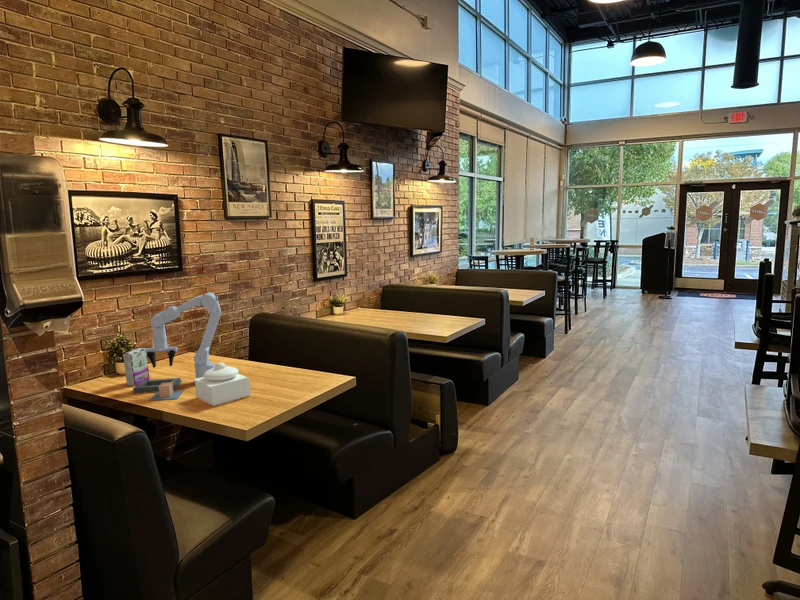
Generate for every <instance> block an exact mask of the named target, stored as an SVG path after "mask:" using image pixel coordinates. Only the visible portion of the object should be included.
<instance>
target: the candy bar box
mask: <svg viewBox="0 0 800 600" xmlns="http://www.w3.org/2000/svg"><path fill="white" fill-rule="evenodd" d="M146 348H147V347H146ZM146 348H145V347H144V348H143V347H138V348H135V349H133V350H130V351H127V352H125V353H123V354H122V358H123V364H124V372H125V380H126V386H128V387H135V386H136V385H138V384H139V383H140V382H141V381H143V380H151V379H150V373H149V372H150V369H149V364H148V363H149V362H148V357H147V353H145V349H146Z"/></svg>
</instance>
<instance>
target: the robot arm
mask: <svg viewBox="0 0 800 600" xmlns="http://www.w3.org/2000/svg"><path fill="white" fill-rule="evenodd" d="M201 306H203V307H204V308H205V309H206V310H207V311H208V313H209V314H210V316H209V318H208V321H207V325H206V328H205V331H204V332H203V336H202V339H201V342H200V346H199V348H198V350H197V351H196V352H195V354H194V356H193V362H194V370H195V371H194V372H195V379H196V378H201V377H204V376H203V375H204V373H205V372H206V371H208V370H210V369H212V368H215V365H216V363H215V362H211V361H210V360H209V357H210V348H211V344H212V342H213V338H214V336H215V332H216V331H217V327H218V324H219V321H220V318H221V316H222V310H221V307H220V302H219V299H218V297H217V296H216V294H215V293H213V292H205V293H204V294H200V295H198V296H195V297H193V298H191V299H190V300H188V301H186V302H184V303H182V304H180V305H179V306H174V305H173V306H170V305H169V306H168V307H167V309H165V310H162V311H158V313H156V314H154V315H153V316H152V317H151V319H150V325H151V326H152V337H153V346H154V347H149V348H147V347H146V349H145V353H146V354H147V359H149V361H150V363H151V365H152V367H153V368H154V369H155V367H156V366H157V362H156V353H164V352H165V353H166V352H168V353H167V355H168V356H167V357H168V361H169V364H168V365H169V367H172V366H173V364H174V358H175V354H176V353H177V351H178V346H168V339H167V333H166V331H167V330H166V325H165V323H169V322H171V321H173V320H175V319H177V318H179V317H180V316H181V313H182V312H185V311H187V310H189V309H191V308H193V307H201ZM193 384H194V385H195V381H193Z"/></svg>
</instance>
